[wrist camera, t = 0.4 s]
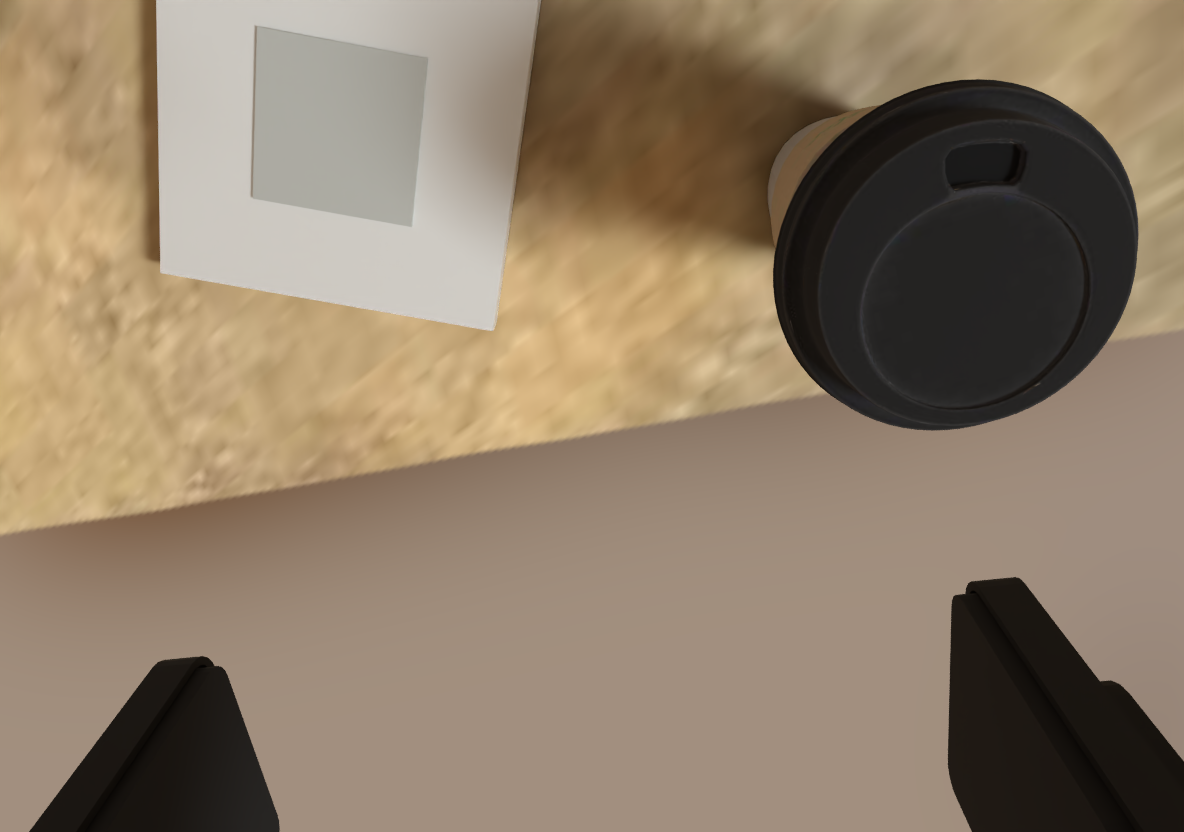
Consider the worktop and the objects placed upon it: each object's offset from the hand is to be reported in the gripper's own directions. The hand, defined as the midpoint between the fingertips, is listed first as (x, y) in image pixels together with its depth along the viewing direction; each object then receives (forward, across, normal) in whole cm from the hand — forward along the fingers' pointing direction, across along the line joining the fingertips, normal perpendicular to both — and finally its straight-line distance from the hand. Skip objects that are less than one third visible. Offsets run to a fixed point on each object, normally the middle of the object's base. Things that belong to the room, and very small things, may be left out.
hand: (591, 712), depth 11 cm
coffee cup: (+28, -10, -1) cm, 30 cm away
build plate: (+28, +10, -6) cm, 30 cm away
